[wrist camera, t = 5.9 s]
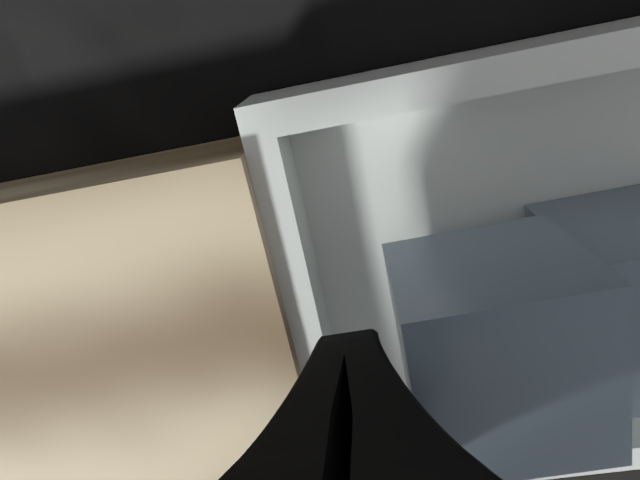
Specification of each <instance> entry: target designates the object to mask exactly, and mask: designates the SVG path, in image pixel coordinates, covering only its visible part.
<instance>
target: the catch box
mask: <svg viewBox="0 0 640 480" xmlns="http://www.w3.org/2000/svg"><path fill="white" fill-rule="evenodd" d="M233 109H234V113H235V117H236V121H237V125H238V129H239V133H240V137H241V141H242V144H243V148H244V152H245V156H246V160H247V164H248V168H249V172H250V176H251V180H252V184H253V187H254V191H255V195H256V199H257V203H258V207H259V211H260V215H261V219H262V223H263V227H264V230H265V234H266V238H267V242H268V246H269V250H270V254H271V258H272V262H273V266H274V269H275V273H276V277H277V281H278V285H279V289H280V293H281V297H282V301H283V305H284V309H285V312H286V316H287V320H288V324H289V328H290V332H291V336H292V340H293V344H294V348H295V352H296V355H297V359H298V363H299V367H300V371H301V372H302V370H303V368H304V366H305V364H306V363H307V361H308V359H309V357H310V355H311V353H312V351H313V349H314V347H315V345H316V343H317V341H318V340H319V338H320V337H321V336H326V335H333V334H339V333H346V332H353V331H359V330H366V329H374V330H375V331H377V332H378V336H379V339H380V342H381V345H382V347H383V349H384V351H385V353H386V355H387V357H388V359H389V360H390V362H391V364H392V365H393V367H394V369H395V370H396V372H397V373H398V374H399V376H400V377H401V379H402V380H403V382H404V383H405V385H406V386H407V383H406V379H405V374H404V368H403V362H402V357H401V351H400V345H399V340H398V334H397V329H396V323H395V317H394V312H393V306H392V300H391V295H390V289H389V284H388V278H387V272H386V267H385V261H384V256H383V250H382V244H384V243H390V242H395V241H401V240H406V239H411V238H417V237H422V236H428V235H433V234H439V233H444V232H450V231H455V230H461V229H466V228H472V227H477V226H483V225H488V224H494V223H499V222H505V221H510V220H516V219H521V218H525V212H524V205H527V204H532V203H538V202H543V201H549V200H554V199H560V198H565V197H570V196H576V195H581V194H587V193H592V192H597V191H603V190H608V189H614V188H619V187H625V186H630V185H635V184H640V16H635V17H630V18H626V19H621V20H616V21H611V22H606V23H601V24H596V25H591V26H586V27H581V28H577V29H572V30H567V31H562V32H557V33H552V34H547V35H542V36H537V37H532V38H528V39H523V40H518V41H513V42H508V43H503V44H498V45H493V46H488V47H483V48H478V49H474V50H469V51H464V52H459V53H454V54H449V55H444V56H439V57H434V58H429V59H425V60H420V61H415V62H410V63H405V64H400V65H395V66H390V67H385V68H380V69H376V70H371V71H366V72H361V73H356V74H351V75H346V76H341V77H336V78H331V79H327V80H322V81H317V82H312V83H307V84H302V85H297V86H292V87H287V88H282V89H277V90H273V91H268V92H263V93H258V94H253V95H251V96H249V97H248V98H247V99H245V100H244V101H243V102H241V103H240V104H239V105H237V106H236V107H235V108H233ZM636 469H640V417H639V418H632V466H625V467H618V468H610V469H603V470H595V471H588V472H581V473H573V474H566V475H558V476H551V477H544V478H536V479H529V480H547V479H556V478H565V477H573V476H582V475H591V474H600V473H609V472H618V471H627V470H636Z"/></svg>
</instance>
